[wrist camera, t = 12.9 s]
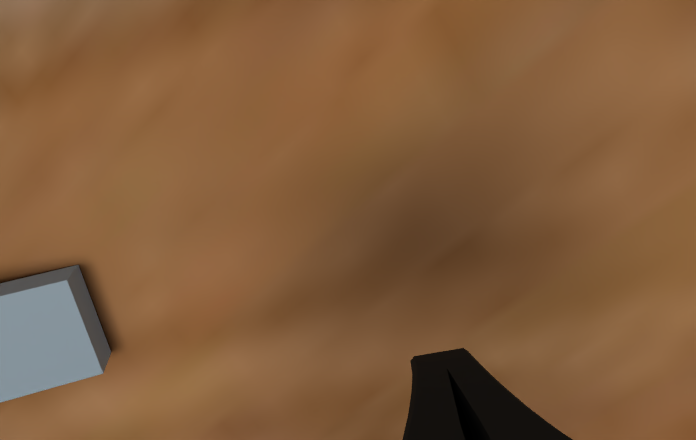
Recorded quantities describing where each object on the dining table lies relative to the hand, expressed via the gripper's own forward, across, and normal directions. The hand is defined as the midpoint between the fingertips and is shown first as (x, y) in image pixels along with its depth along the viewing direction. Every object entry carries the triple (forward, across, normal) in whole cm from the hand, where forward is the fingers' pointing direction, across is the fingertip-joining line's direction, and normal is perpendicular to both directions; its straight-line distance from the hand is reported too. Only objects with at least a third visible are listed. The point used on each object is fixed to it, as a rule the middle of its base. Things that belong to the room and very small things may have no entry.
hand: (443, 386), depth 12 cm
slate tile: (+10, +14, +1) cm, 17 cm away
